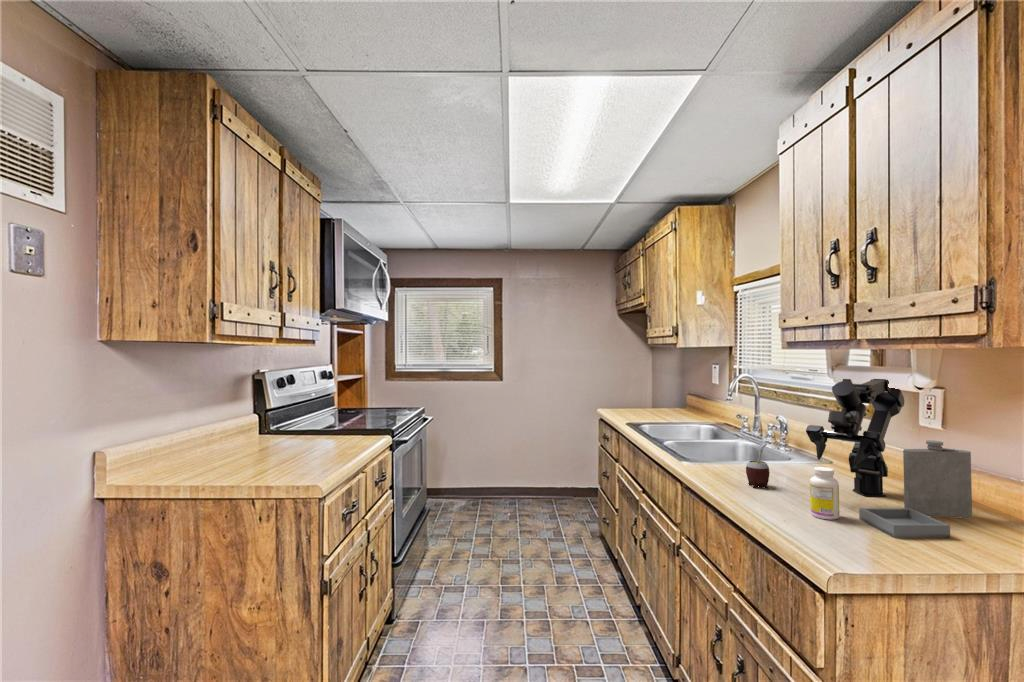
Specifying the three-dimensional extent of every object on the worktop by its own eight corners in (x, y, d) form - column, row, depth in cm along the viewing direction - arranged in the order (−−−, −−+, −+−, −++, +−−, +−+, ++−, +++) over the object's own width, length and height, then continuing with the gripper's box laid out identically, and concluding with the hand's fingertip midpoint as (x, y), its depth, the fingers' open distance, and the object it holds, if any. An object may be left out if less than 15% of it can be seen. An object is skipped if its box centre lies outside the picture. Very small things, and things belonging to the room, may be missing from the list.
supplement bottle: (823, 511, 142) (822, 465, 142) (845, 518, 136) (844, 470, 136) (804, 513, 140) (803, 466, 140) (826, 521, 134) (825, 472, 134)
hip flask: (909, 516, 137) (907, 442, 137) (899, 512, 141) (898, 439, 141) (975, 518, 135) (973, 442, 135) (963, 513, 139) (962, 440, 139)
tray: (910, 519, 135) (909, 508, 135) (950, 537, 122) (949, 525, 122) (859, 519, 135) (859, 508, 135) (893, 537, 122) (893, 525, 122)
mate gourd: (751, 482, 173) (750, 438, 173) (776, 487, 167) (775, 441, 167) (741, 486, 168) (741, 441, 168) (767, 491, 162) (766, 444, 162)
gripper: (807, 398, 154) (791, 439, 147) (880, 403, 139) (866, 448, 132) (819, 421, 159) (804, 462, 152) (891, 428, 144) (878, 474, 137)
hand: (836, 461), depth 143 cm, fingers open, 9 cm apart
